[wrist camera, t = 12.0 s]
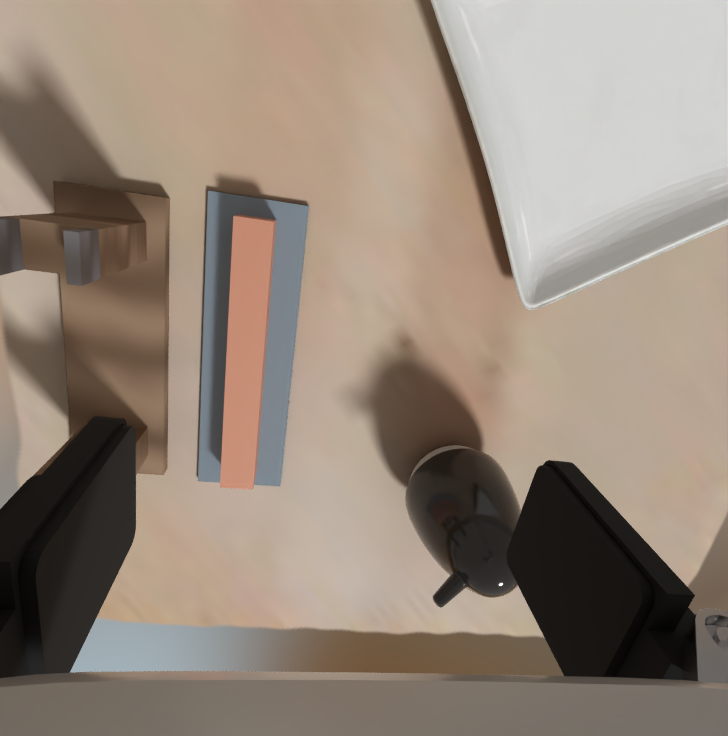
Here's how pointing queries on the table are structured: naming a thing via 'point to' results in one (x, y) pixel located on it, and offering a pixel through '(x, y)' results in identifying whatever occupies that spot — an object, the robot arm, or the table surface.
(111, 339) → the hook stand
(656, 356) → the table surface
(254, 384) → the rail
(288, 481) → the table surface
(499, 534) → the pump dispenser
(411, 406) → the table surface
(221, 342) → the mat
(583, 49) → the square plate
